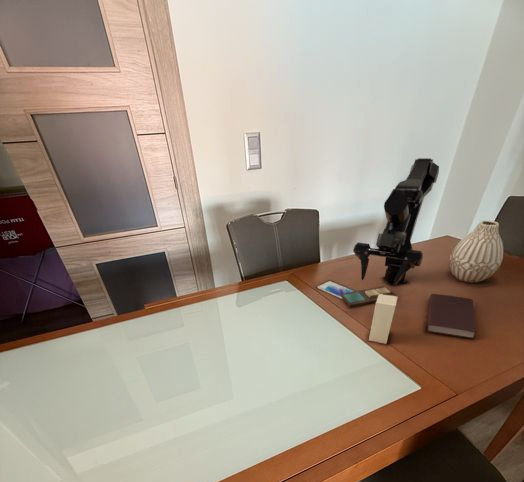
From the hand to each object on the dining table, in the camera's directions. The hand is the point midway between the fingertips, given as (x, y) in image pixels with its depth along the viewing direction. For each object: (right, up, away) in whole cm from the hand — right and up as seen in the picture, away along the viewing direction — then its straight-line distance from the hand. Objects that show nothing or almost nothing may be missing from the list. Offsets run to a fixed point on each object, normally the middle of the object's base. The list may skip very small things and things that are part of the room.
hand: (377, 282), depth 89 cm
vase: (+44, +7, +25) cm, 51 cm away
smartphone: (-6, +2, +25) cm, 25 cm away
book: (+25, -10, +6) cm, 27 cm away
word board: (+3, -1, +19) cm, 19 cm away
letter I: (+1, -16, +1) cm, 16 cm away
